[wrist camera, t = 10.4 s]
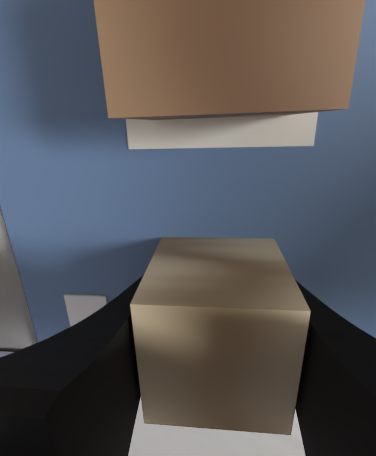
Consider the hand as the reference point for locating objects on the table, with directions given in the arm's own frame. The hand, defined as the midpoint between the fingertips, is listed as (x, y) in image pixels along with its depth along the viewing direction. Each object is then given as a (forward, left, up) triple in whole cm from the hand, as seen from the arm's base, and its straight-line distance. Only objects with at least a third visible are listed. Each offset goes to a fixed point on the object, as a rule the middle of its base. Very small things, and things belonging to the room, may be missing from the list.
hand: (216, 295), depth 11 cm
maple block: (0, 0, -1) cm, 1 cm away
